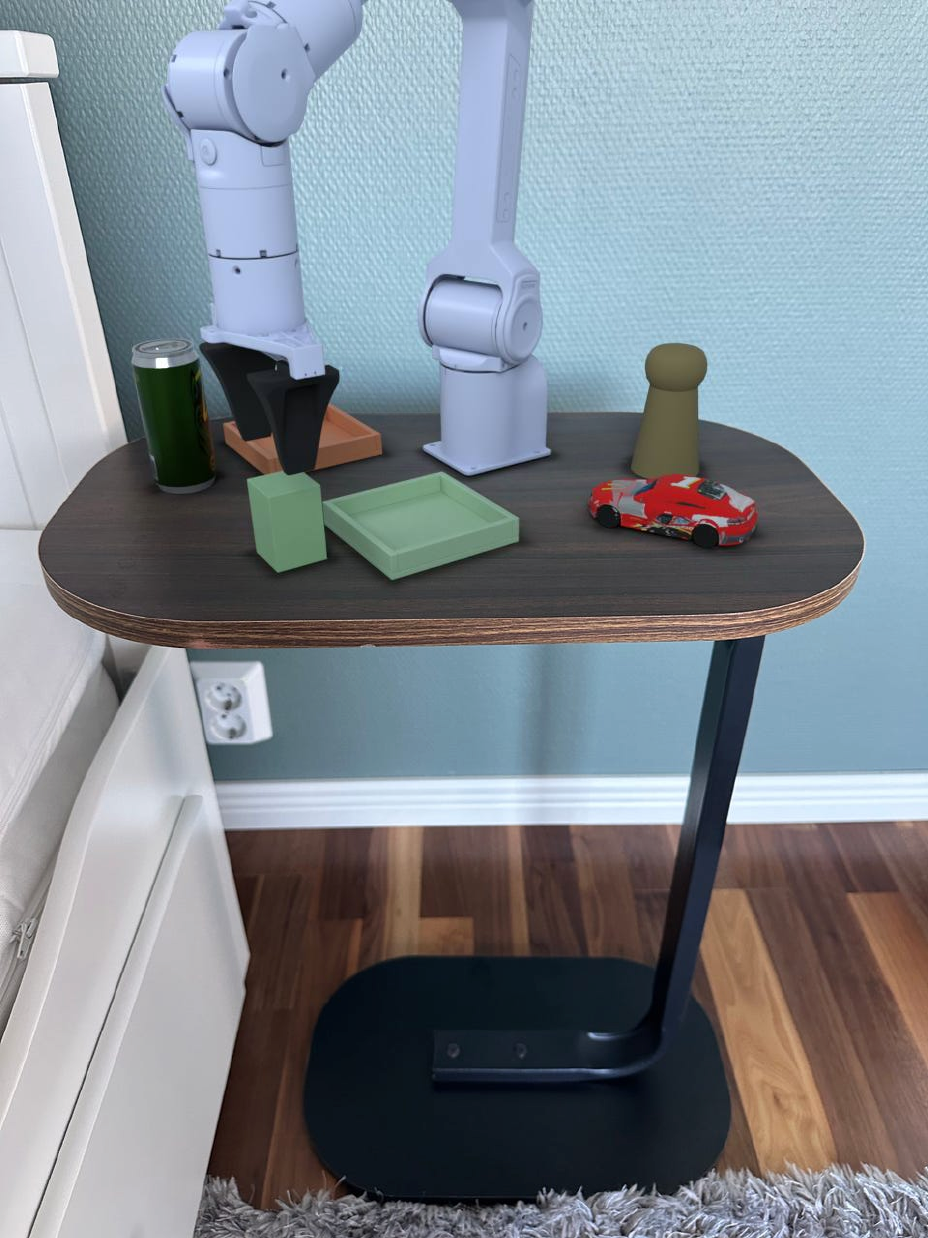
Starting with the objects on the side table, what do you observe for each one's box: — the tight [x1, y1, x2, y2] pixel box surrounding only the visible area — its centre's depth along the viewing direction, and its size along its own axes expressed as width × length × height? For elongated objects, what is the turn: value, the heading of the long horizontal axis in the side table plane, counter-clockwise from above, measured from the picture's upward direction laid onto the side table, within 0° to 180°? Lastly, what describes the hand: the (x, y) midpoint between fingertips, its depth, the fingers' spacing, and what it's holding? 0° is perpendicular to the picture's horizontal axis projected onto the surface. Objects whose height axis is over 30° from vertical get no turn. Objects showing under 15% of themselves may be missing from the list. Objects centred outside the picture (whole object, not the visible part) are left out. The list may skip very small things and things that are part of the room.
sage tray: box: [322, 471, 520, 581], centre depth 74 cm, size 11×11×2 cm
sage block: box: [246, 471, 328, 574], centre depth 70 cm, size 4×4×6 cm
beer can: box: [130, 337, 218, 495], centre depth 80 cm, size 5×5×12 cm
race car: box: [588, 474, 758, 549], centre depth 74 cm, size 13×5×4 cm, turn 61°
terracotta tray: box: [222, 402, 383, 475], centre depth 90 cm, size 11×11×2 cm
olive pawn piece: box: [630, 342, 708, 480], centre depth 82 cm, size 6×6×11 cm
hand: (277, 453), depth 67 cm, fingers open, 7 cm apart
